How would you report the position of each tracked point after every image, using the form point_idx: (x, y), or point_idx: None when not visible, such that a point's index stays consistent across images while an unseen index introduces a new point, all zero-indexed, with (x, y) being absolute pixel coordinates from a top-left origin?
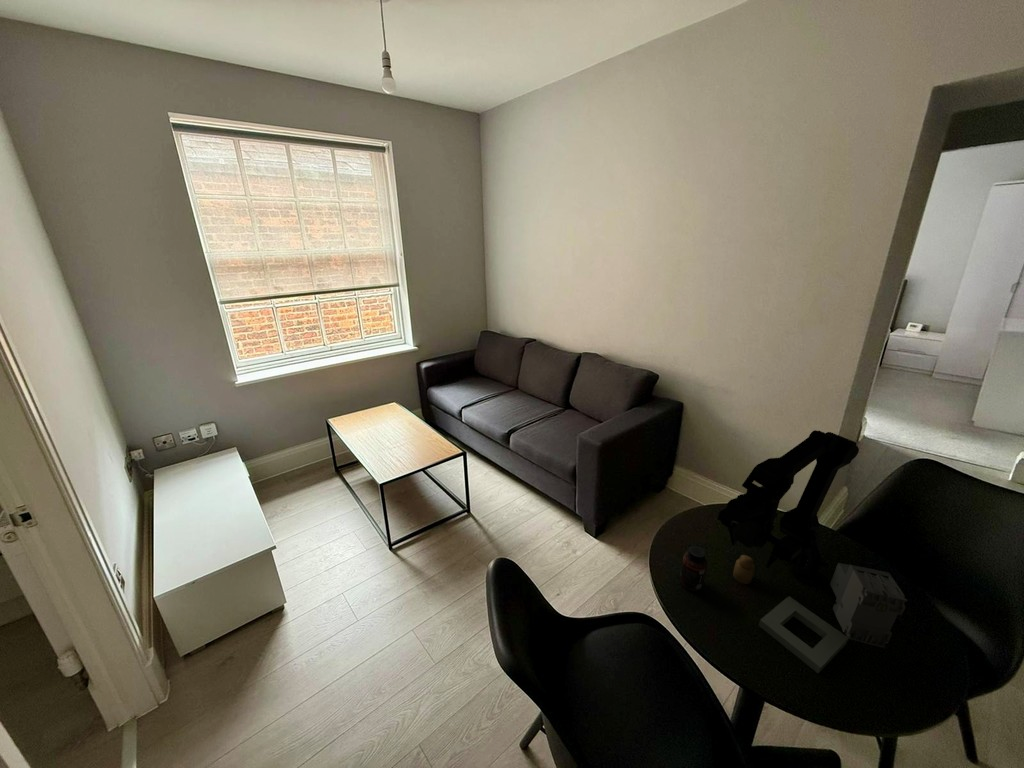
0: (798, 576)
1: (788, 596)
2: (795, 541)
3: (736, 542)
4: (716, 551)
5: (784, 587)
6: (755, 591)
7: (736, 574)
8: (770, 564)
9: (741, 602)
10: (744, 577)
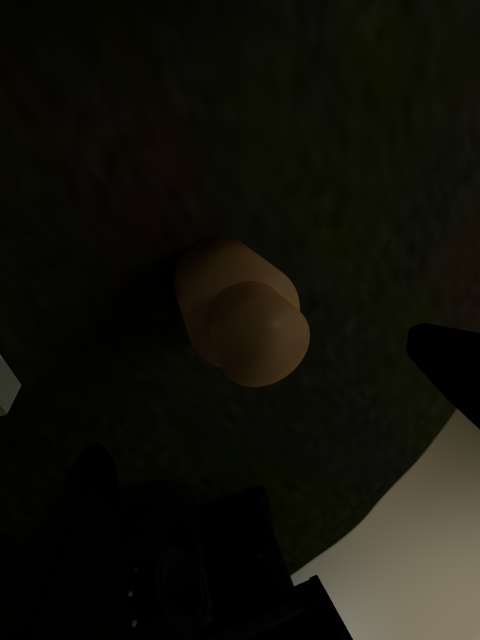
0: (139, 497)
1: (3, 410)
2: (251, 602)
3: (422, 370)
4: (374, 279)
5: (109, 422)
6: (117, 279)
7: (231, 244)
8: (34, 530)
9: (49, 110)
10: (191, 267)
